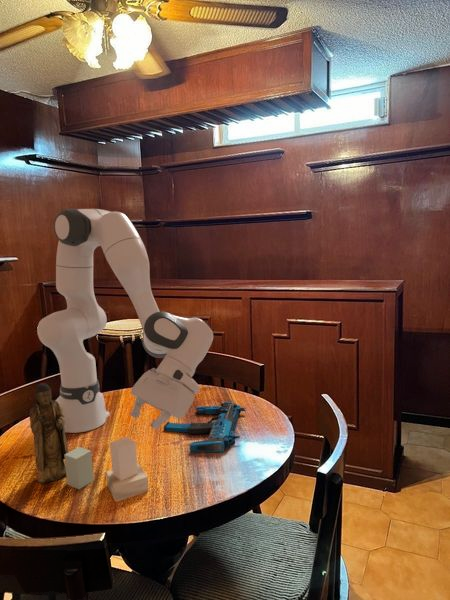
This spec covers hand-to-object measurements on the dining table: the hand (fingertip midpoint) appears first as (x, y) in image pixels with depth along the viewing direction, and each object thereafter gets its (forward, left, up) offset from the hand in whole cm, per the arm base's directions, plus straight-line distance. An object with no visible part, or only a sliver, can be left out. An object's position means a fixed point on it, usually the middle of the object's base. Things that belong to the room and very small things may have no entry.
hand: (143, 422), depth 107 cm
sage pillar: (-11, -13, -15) cm, 22 cm away
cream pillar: (0, -6, -11) cm, 13 cm away
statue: (-18, -17, -15) cm, 29 cm away
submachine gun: (-12, +30, -16) cm, 36 cm away
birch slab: (0, -6, -15) cm, 16 cm away
